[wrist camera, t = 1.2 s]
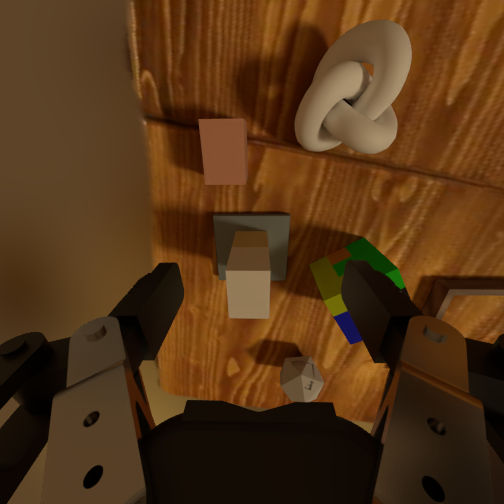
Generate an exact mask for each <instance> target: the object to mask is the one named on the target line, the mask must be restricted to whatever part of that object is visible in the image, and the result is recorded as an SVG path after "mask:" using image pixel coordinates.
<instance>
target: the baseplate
mask: <svg viewBox="0 0 504 504" xmlns="http://www.w3.org/2000/svg"><path fill="white" fill-rule="evenodd" d="M213 223H214V233H215V243H216V253H217V263H218V273H219V280H226V271H225V270H226V267H227V263H228V259H229V255H230V252H231V248H232V244H233V240H234V237H235V233H236V231H267V235H268V247H269V258H270V270H271V273H270V280H284V281H286V268H287V254H288V240H289V226H290V214H214V215H213Z"/></svg>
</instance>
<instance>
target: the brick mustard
mask: <svg viewBox="0 0 504 504" xmlns="http://www.w3.org/2000/svg"><path fill="white" fill-rule="evenodd" d="M232 247H268V235H267V231H236V233H235V237H234V240H233V244H232Z"/></svg>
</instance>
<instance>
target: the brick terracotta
mask: <svg viewBox="0 0 504 504" xmlns="http://www.w3.org/2000/svg"><path fill="white" fill-rule="evenodd" d="M198 120H199V129H200V139H201V148H202V157H203V167H204V176H205V185H245V184H246V181H247V178H248V168H247V123H246V121H245V120H244V118H238V119H198Z"/></svg>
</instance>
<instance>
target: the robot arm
mask: <svg viewBox="0 0 504 504" xmlns="http://www.w3.org/2000/svg"><path fill="white" fill-rule="evenodd" d="M341 297H342V300H343V302H344V304H345V306H346V308H347V310H348V312H349V314H350V316H351V318H352V320H353V322H354V324H355V326H356V328H357V330H358V332H359V334H360V336H361V338H362V340H363V342H364V344H365V346H366V348H367V350H368V351H369V353H370V355H371V357H372V359H373V361H374V363H387V364H388V366H389V368H390V370H389V372H388V375H387V378H386V382H385V386H384V389H383V393H382V397H381V401H380V404H379V408H378V412H377V415H376V419H375V422H374V425H373V428H372V431H371V433H368V432H367V431H365V430H364V429H363V428H361V427H359V426H358V425H356V424H354V423H353V422H351V421H349V420H346V419H344V418H342V417H339V416H336V413H335V409H334V405H333V403H331V402H294V403H290V404H287V405H283V406H280V407H276V408H273V409H269V410H266V411H262V412H256V411H252V410H249V409H246V408H243V407H240V406H237V405H234V404H231V403H227V402H224V401H209V400H187V402H186V405H185V409H184V413H181V414H179V415H176V416H174V417H172V418H169V419H168V420H166V421H164V422H162V423H160V424H159V425H157V426H156V425H155V423H154V420H153V417H152V414H151V410H150V407H149V402H148V399H147V395H146V391H145V387H144V383H143V379H142V375H141V372H140V369H139V366H140V364H141V362H142V361H143V360H155V358H156V356H157V354H158V351H159V349H160V347H161V345H162V343H163V341H164V339H165V337H166V335H167V333H168V331H169V329H170V327H171V324H172V322H173V320H174V318H175V316H176V314H177V312H178V310H179V308H180V306H181V304H182V301H183V298H184V287H183V283H182V279H181V274H180V270H179V266H178V264H177V263H159V264H158V265H157V267H156V268H155V269H154V270H153V271H152V273H148V274H147V275H145V276H144V277H142V278H141V279H139V280H138V281H137V283H136V284H135V285H134V286H133V288H131V289H130V291H129V292H128V294H127V295H125V296H124V298H123V299H122V300H121V301H120V302H119V303H118V304H117V306H116V307H115V308H114V309H113V310H112V312H111V313H110V314H109V315H108V316H107V317H101V318H97V319H94V320H92V321H90V322H88V323H86V324H84V325H83V326H81V327H80V328H79V329H78V330H76V331H75V333H74V334H73V335H72V336H71V337H69V338H65V339H60V340H56V341H52V342H48V341H47V339H46V338H45V336H44V335H43V334H42V333H40V332H30V333H26V334H23V335H20V336H17V337H15V338H13V339H11V340H8V341H6V342H5V343H3V344H1V345H0V409H1V408H2V407H3V406H4V405H5V404H6V403H7V402H8V400H9V399H10V398H11V397H13V398H14V399H15V400H16V401H17V402H18V403H19V404H20V406H19V407H18V408H17V410H16V411H15V412H14V413H13V414H12V415H11V416H10V418H9V419H8V420H7V421H6V422H5V423H4V425H3V426H2V427H1V428H0V504H7V502H8V501H9V500H10V498H11V497H12V495H13V493H14V492H15V490H16V489H17V487H18V486H19V484H20V483H21V481H22V480H23V478H24V477H25V475H26V474H27V472H28V471H29V469H30V467H31V466H32V465H33V463H34V462H35V460H36V458H37V457H38V455H39V454H40V452H41V451H42V449H43V448H44V446H45V445H46V443H47V442H48V445H47V454H46V463H45V470H44V478H43V487H42V495H41V504H494V502H493V494H492V485H491V475H490V465H489V456H488V446H487V440H488V442H489V443H490V445H491V446H492V447H493V449H494V450H495V452H496V453H497V455H498V456H499V458H500V459H501V460H502V462H503V463H504V334H502V335H500V336H499V337H498V339H497V340H496V341H495V343H494V344H490V343H486V342H481V341H477V340H472V339H468V338H464V337H463V335H462V334H461V333H460V332H459V331H458V330H457V329H456V328H454V327H453V326H451V325H450V324H448V323H446V322H444V321H442V320H440V319H437V318H434V317H430V316H425V315H424V314H423V313H422V312H421V311H420V310H419V309H418V308H417V306H416V305H415V304H414V303H413V302H412V301H411V300H410V299H409V298H408V297H407V296H406V295H405V294H404V293H402V290H401V289H400V288H399V287H398V286H396V284H395V283H394V282H393V281H392V280H391V279H390V277H388V276H387V275H385V274H383V273H382V272H380V271H378V270H374V269H373V268H372V266H371V265H370V264H369V263H368V262H367V261H366V260H348V261H347V262H346V264H345V269H344V275H343V280H342V285H341Z"/></svg>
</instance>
